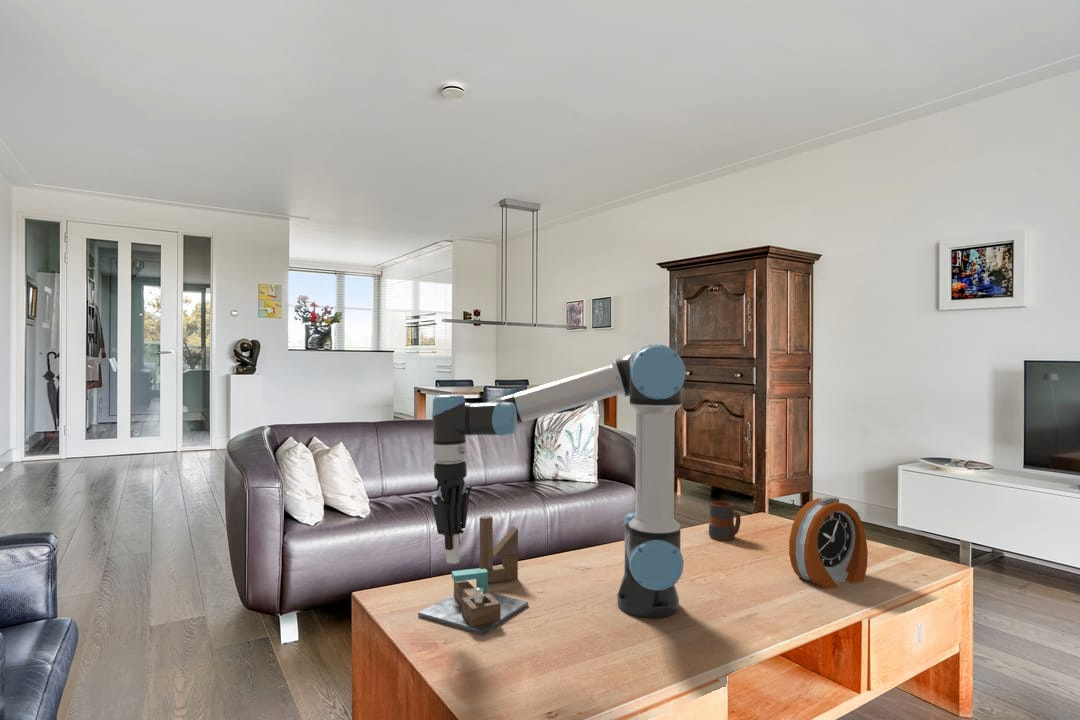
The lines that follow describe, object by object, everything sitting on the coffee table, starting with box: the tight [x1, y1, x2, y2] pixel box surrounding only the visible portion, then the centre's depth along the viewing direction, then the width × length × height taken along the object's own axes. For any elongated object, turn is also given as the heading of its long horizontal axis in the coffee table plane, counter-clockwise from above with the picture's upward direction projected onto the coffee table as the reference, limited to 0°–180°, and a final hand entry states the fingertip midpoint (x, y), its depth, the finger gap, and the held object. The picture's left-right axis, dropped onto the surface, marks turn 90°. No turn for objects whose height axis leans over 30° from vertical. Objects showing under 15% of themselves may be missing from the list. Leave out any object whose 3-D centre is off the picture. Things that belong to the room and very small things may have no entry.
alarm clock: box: [788, 496, 868, 590], centre depth 174 cm, size 22×10×23 cm, turn 114°
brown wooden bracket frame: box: [478, 514, 519, 585], centre depth 172 cm, size 4×11×18 cm, turn 114°
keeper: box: [451, 567, 489, 594], centre depth 157 cm, size 4×9×8 cm, turn 109°
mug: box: [708, 500, 742, 542], centre depth 212 cm, size 9×12×12 cm
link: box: [453, 580, 501, 626], centre depth 151 cm, size 18×7×4 cm, turn 27°
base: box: [417, 587, 529, 636], centre depth 152 cm, size 19×19×8 cm
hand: (452, 562), depth 145 cm, fingers closed
